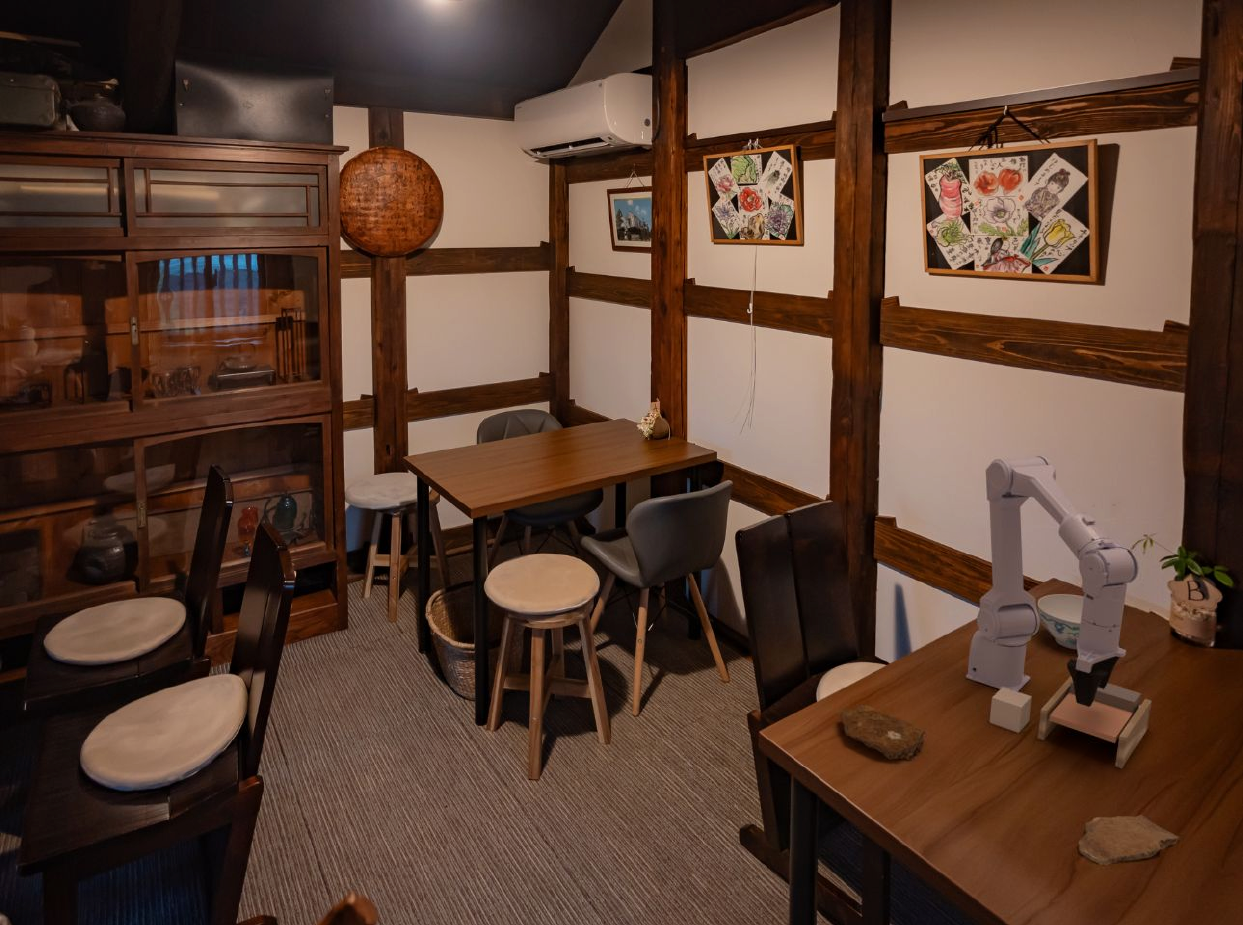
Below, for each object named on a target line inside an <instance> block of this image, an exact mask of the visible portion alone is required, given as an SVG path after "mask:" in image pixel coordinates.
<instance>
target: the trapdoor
mask: <svg viewBox="0 0 1243 925" xmlns="http://www.w3.org/2000/svg"><path fill="white" fill-rule="evenodd" d="M1141 694H1142V693H1140V692H1138V691H1134V690H1132V689H1130V688H1129V689H1128V688H1126V687H1125V688H1124V687H1121V686H1119V685H1115V684H1112V683H1109V682H1108V683H1107V685H1106V687H1105V688H1104V689H1102V688H1099V687H1098V689H1097V692H1096V695H1095V698H1094V701H1093V703H1092V705H1091V706H1090V707H1088V706H1084V705H1081V704H1078V703H1077V702H1076V697H1075V690H1074V684H1073V681H1072V682H1071V685H1070V692H1069V694H1068V695H1067V696H1066V697H1065V698H1064V700H1063V701H1062V702H1061V703H1060V704H1059V705H1058V707H1057V708H1056V709H1055V710H1054V711H1053V712H1052V714H1051V715H1050V720H1049V721H1052V722H1055V723H1058V724H1057V725H1061V726H1064V727H1066V728H1070V729H1073V730H1076V731H1079V732H1082V733H1085V734H1087V735H1090V736H1094V737H1095V738H1098V739H1101V740H1105V741H1108V742H1110V743H1114V744H1115V743H1116V742H1117V741H1118V740H1119V736H1120V735H1121V733H1122V732H1123V730H1124V729H1125V727H1126V726H1127V724H1128V723H1129V722H1130V720H1131V719H1132V717H1133V716H1134V714H1135V713H1136V711H1137V710H1138V709H1139V705H1140V702H1141Z"/></svg>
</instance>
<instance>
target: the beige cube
mask: <svg viewBox="0 0 1243 925" xmlns="http://www.w3.org/2000/svg"><path fill="white" fill-rule="evenodd" d="M1032 698H1033V696H1032V695H1029V694H1026V693H1024V692H1023V693H1022V692H1020V691H1018V692H1017V691H1014V690H1011V689H1008V688H1005V687H1002V688H1001V689H999V690H998V691H997V692H996V693H995V694H994V695H993V696H992V697H991V706H990V716H989V723H990V724H993V725H995V726H998V727H1000V728H1003V729H1007V730H1008V731H1012V732H1015V733H1017V734H1020V732H1021V731H1022V730H1023V729H1024V728H1025V726H1026V725H1027V724H1028V723H1029V722H1030V715H1031V707H1032Z"/></svg>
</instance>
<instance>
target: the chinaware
mask: <svg viewBox="0 0 1243 925" xmlns="http://www.w3.org/2000/svg"><path fill="white" fill-rule="evenodd" d="M1083 601H1084V595H1083V596H1082V595H1077V594H1068V593H1067V594H1065V593H1060V594H1058V593H1057V594H1055V593H1054V594H1049V595H1045V596H1042V597H1040V598H1039V599H1038V601H1037V612H1038V614H1039V618H1040V622H1041V623H1042V625H1043V627H1044V628H1045V629H1046V630H1047V632H1048V633H1049V634H1050V635H1051V636H1053V637H1054V638H1055V641H1056V643H1057V644H1058V645H1060V646H1063V647H1065V648H1068V649H1072V650H1077V645H1076V644H1077V640H1078V639H1079V631H1080V624H1081V616H1082V609H1083Z"/></svg>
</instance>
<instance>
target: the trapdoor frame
mask: <svg viewBox="0 0 1243 925" xmlns="http://www.w3.org/2000/svg"><path fill="white" fill-rule="evenodd" d="M1072 681H1073V680H1072V677H1071V675H1070V676H1069V677H1068V679H1066V681H1065V682H1064V683H1063V684H1062V685H1061V686H1060V687H1059V688H1058V690H1057V691H1056V692H1055V693H1054V694H1053V696H1052V697H1050V699H1049V700H1048V701H1047V702H1046V703H1045V704H1044V705H1043V707H1041V709H1040V715H1039V724H1038V731H1037V732H1038V733H1037V739H1038V740H1041V741H1045V740H1046V738H1047V737H1048V736H1049V735H1050V734H1051V732H1052V731H1053V730H1054V729H1055V728H1056V726H1057V725H1059V724H1058V723H1055V722H1052V721H1049V720H1050V715H1051V714H1052V712H1053V711H1054V710H1055V709H1056V708H1057V707H1058V705H1059V704H1060V703H1061V702H1062V701H1063V700H1064V698H1065V697H1066V696H1067V695H1068V694H1069V692H1070V685H1071V682H1072ZM1151 708H1152V700H1150V699H1148V698H1144V700H1143V702H1142V703H1141V704H1139V709H1138V710H1137V711H1136V713H1135V714H1134V716H1133V717H1132V719H1131V720H1130V722H1129V723H1128V724H1127V726H1126V727H1125V729H1124V730H1123V732H1122V733H1121V735H1120V736H1119V738H1118V746H1117V750H1116V751H1117V752H1116V758H1115V764H1114V767H1117V768H1120V769H1123V768H1124V766H1125V765H1126V763H1127V761H1128V760H1129V759H1130V758H1131V755H1132V753H1133V752H1134V751H1135V749H1136V748H1137V746H1138V745H1139V743H1140V741H1141V740H1142V738H1143V736H1144V735H1145V734H1146V732H1147V731H1148V728H1149V720H1150V715H1151V710H1152V709H1151Z"/></svg>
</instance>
